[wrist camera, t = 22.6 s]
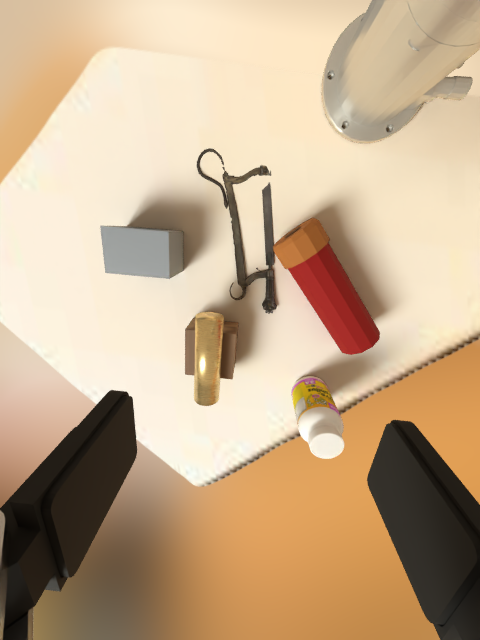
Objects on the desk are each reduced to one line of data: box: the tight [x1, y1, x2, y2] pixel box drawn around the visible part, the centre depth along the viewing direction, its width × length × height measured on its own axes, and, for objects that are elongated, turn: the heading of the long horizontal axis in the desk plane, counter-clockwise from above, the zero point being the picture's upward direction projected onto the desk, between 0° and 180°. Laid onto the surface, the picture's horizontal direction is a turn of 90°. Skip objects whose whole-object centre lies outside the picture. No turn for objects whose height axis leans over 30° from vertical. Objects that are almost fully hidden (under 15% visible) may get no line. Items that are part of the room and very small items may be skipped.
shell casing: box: [273, 218, 380, 355], centre depth 36 cm, size 7×20×7 cm, turn 36°
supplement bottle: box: [292, 376, 344, 459], centre depth 40 cm, size 7×7×13 cm
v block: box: [185, 318, 238, 379], centre depth 41 cm, size 8×8×5 cm
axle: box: [194, 312, 224, 406], centre depth 38 cm, size 14×4×4 cm, turn 175°
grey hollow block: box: [100, 226, 183, 279], centre depth 36 cm, size 6×9×7 cm
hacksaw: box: [197, 149, 277, 314], centre depth 37 cm, size 24×10×2 cm, turn 5°
